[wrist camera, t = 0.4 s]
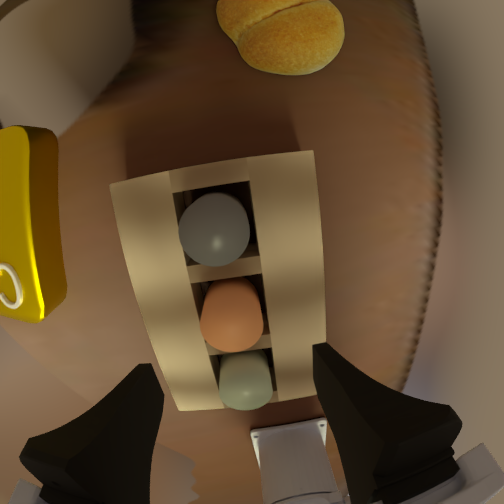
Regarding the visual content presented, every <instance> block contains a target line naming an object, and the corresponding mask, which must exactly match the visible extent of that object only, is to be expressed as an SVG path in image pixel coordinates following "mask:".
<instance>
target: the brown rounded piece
mask: <svg viewBox="0 0 504 504" xmlns="http://www.w3.org/2000/svg"><path fill="white" fill-rule="evenodd" d="M200 330H201V333H202V336H203V337H204V339H205V340H206V341H207V342H208V343H209V344H210V345H211V346H213V347H214V348H216V349H218V350H221V351H225V352H239V351H243V350H246V349H248V348H250V347H251V346H253V345H254V344H255V343H256V342H257V341H258V340H259V338H260V337H261V335H262V332H263V319H262V313H261V308H260V302H259V297H258V292H257V290H256V288H255V287H254V285H253V284H252V283H251V282H250V281H248V280H247V279H245V278H243V277H233V278H226V279H219V280H215V281H214V282H213V283H212V284H211V285H210V286H209V288H208V290H207V292H206V296H205V301H204V305H203V310H202V315H201V320H200Z"/></svg>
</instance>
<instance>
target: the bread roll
mask: <svg viewBox="0 0 504 504" xmlns="http://www.w3.org/2000/svg"><path fill="white" fill-rule="evenodd" d="M216 13H217V18H218V22H219V25H220V26H221V28H222V30H223V31H224V32H225V33H226V34H227V35H228V36H229V37H230V38H231V39H232V40H233V42H234V43H235V44H236V46H237V48H238V51H239V53H240V55H241V57H242V58H243V59H244V61H245V62H246V63H247V64H249V65H250V66H251V67H253V68H255V69H258V70H261V71H264V72H270V73H275V74H282V75H305V74H310V73H313V72H316V71H318V70H320V69H322V68H323V67H325V66H326V65H327V64H328V63H330V62H331V61H332V60H333V59H334V58H335V56H336V55H337V54H338V52H339V51H340V49H341V47H342V44H343V40H344V35H345V33H344V23H343V18H342V16H341V14H340V12H339V10H338V9H337V8H336V7H335V6H334V5H333V4H332V3H331V2H330V1H329V0H219V1H218V3H217V7H216Z"/></svg>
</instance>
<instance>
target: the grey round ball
mask: <svg viewBox="0 0 504 504" xmlns="http://www.w3.org/2000/svg"><path fill="white" fill-rule="evenodd" d="M178 234H179V240H180V243H181V245H182V247H183V249H184V251H185V252H186V253H187V255H188V256H189V257H190V258H192V259H193V260H194V261H196V262H198V263H200V264H202V265H206V266H211V267H217V266H224V265H227V264H229V263H231V262H233V261H235V260H236V259H237V258H238V257H240V256H241V254H242V253H243V252H244V250H245V249H246V247H247V245H248V242H249V237H250V227H249V222H248V218H247V213H246V210H245V208H244V206H243V204H242V203H241V201H240V200H239V199H238V198H237V197H235V196H234V195H232V194H230V193H228V192H224V191H212V192H209V193H206V194H204V195H202V196H201V197H200V198H198V199H197V200H196V201H195V202H194V203H192V204H191V205H190V206H189V207H188V208H187V209H186V210H185V212H184V213H183V215H182V217H181V219H180V223H179V229H178Z"/></svg>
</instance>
